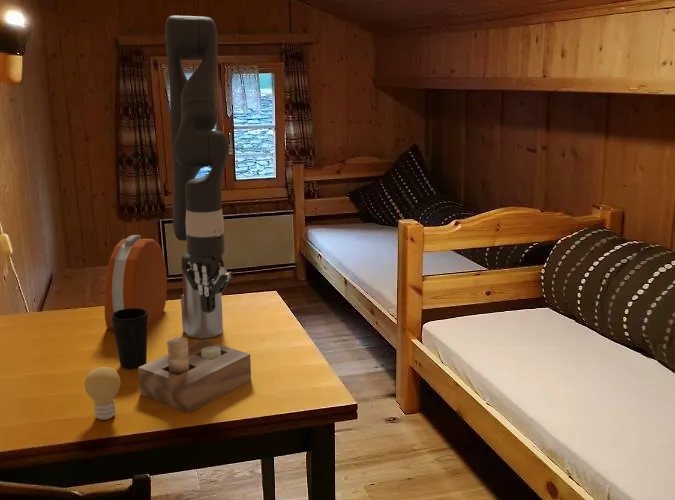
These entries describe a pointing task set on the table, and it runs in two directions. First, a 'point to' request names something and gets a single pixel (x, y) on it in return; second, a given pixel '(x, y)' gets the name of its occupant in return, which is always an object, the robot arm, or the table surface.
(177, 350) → the peg birch
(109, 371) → the light bulb
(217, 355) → the peg sage
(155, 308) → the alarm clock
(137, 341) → the cup
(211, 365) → the socket block
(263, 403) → the table surface
